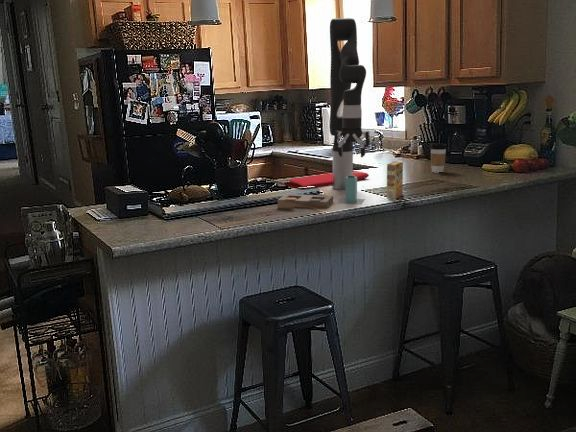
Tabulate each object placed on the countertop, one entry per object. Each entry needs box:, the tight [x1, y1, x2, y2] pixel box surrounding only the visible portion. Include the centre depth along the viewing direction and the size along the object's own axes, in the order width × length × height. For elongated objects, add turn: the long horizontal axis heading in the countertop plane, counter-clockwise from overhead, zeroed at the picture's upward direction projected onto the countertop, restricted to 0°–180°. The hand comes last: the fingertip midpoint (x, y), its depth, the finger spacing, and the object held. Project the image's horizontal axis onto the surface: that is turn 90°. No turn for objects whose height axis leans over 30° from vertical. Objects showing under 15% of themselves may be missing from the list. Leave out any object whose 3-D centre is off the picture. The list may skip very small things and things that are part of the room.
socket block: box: [277, 193, 334, 210], centre depth 258 cm, size 12×20×4 cm, turn 74°
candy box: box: [386, 160, 404, 199], centre depth 269 cm, size 9×4×15 cm, turn 150°
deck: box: [336, 197, 366, 205], centre depth 262 cm, size 10×10×1 cm
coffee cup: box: [430, 142, 448, 174], centre depth 331 cm, size 8×8×15 cm
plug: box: [345, 175, 358, 202], centre depth 261 cm, size 4×4×11 cm
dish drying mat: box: [283, 170, 370, 188], centre depth 309 cm, size 16×41×4 cm, turn 125°
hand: (351, 156), depth 257 cm, fingers open, 8 cm apart
